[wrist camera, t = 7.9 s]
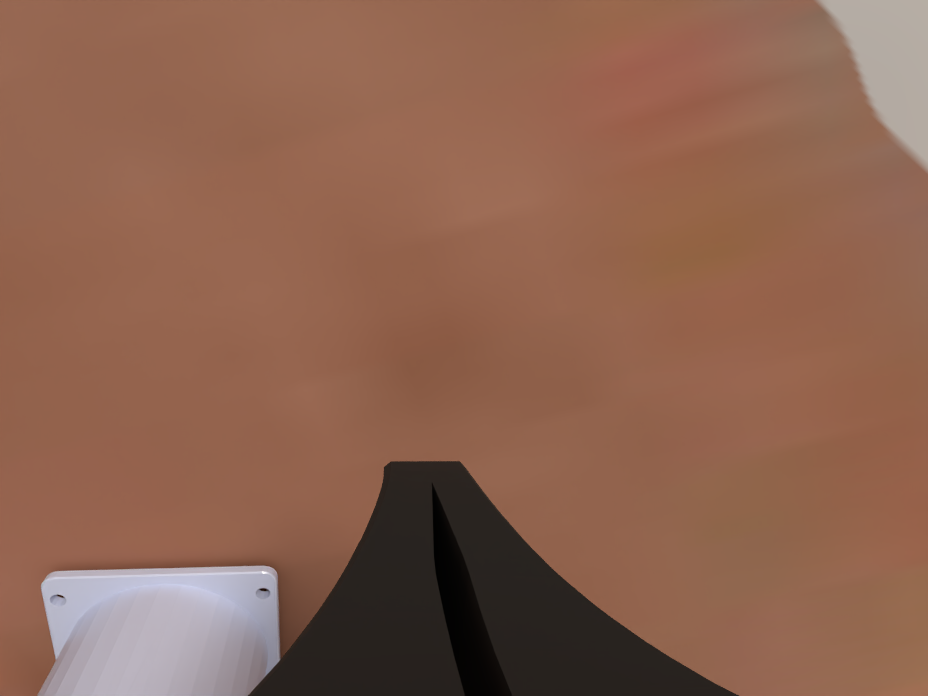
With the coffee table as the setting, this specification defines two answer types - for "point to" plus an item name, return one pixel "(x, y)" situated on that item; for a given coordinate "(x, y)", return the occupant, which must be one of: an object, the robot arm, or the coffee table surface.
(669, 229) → the coffee table surface
